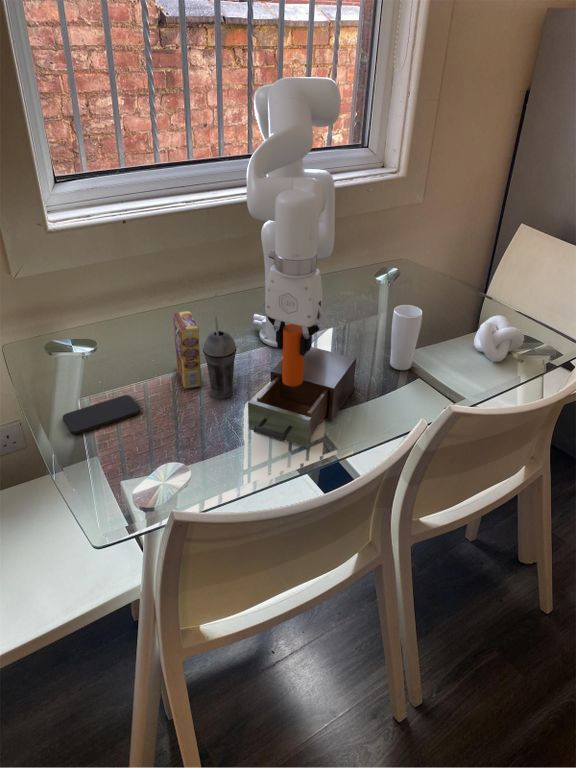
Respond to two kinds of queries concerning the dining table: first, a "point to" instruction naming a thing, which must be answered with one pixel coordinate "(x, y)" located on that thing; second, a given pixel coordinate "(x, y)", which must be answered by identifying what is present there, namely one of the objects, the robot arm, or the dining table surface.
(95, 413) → the phone
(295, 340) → the roller
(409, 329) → the drinking glass
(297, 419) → the drawer
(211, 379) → the beverage cup
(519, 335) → the white knot sculpture
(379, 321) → the dining table surface
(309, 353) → the cabinet
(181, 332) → the candy box
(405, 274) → the dining table surface
